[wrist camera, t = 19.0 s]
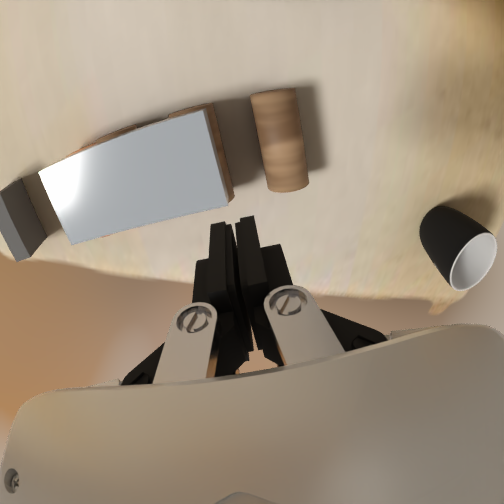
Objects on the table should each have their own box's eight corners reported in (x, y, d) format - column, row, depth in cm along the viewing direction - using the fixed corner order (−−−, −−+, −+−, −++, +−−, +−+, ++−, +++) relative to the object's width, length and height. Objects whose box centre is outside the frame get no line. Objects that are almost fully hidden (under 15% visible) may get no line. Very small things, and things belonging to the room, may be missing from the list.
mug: (402, 246, 40) (438, 289, 31) (426, 191, 35) (472, 226, 27) (452, 256, 42) (486, 294, 34) (474, 209, 38) (514, 242, 29)
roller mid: (180, 110, 28) (160, 118, 25) (218, 100, 27) (202, 107, 24) (202, 193, 34) (187, 211, 30) (239, 189, 33) (227, 207, 29)
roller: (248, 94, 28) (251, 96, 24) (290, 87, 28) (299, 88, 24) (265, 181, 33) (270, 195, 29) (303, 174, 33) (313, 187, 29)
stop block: (21, 178, 29) (0, 193, 25) (47, 237, 34) (30, 257, 29) (7, 185, 29) (-14, 201, 25) (33, 241, 34) (16, 261, 29)
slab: (205, 107, 24) (202, 110, 22) (228, 196, 29) (228, 205, 27) (49, 165, 26) (38, 172, 24) (79, 235, 31) (71, 245, 29)
